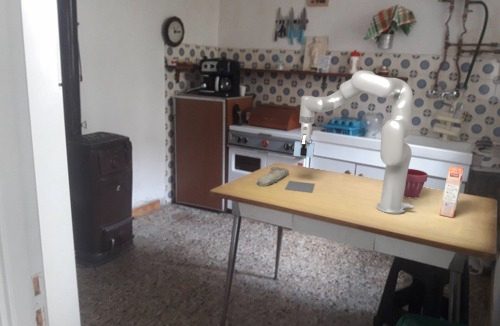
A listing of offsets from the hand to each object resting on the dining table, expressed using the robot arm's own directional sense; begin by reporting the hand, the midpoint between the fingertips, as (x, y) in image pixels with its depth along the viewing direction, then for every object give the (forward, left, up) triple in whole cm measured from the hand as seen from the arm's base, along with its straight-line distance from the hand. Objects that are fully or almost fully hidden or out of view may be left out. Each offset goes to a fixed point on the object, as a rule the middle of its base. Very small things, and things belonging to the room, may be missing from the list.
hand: (303, 154), depth 204 cm
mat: (0, +2, -17) cm, 18 cm away
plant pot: (-56, -6, -18) cm, 59 cm away
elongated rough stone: (+16, -8, -18) cm, 26 cm away
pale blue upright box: (0, 0, -1) cm, 1 cm away
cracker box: (-70, +15, -18) cm, 74 cm away
